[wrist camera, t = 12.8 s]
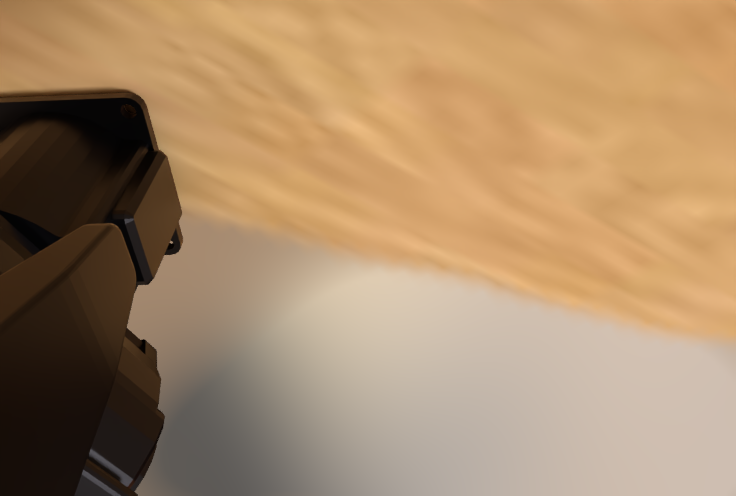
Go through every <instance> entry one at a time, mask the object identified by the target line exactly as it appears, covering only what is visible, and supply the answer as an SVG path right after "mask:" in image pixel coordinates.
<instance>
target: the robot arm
mask: <svg viewBox="0 0 736 496" xmlns="http://www.w3.org/2000/svg"><path fill="white" fill-rule="evenodd" d="M126 104H127V105H131V106H132V107H134V109H135V110H136V113H135V114H133V113H129V112H128V111H127V110H126V109H125V107H124V105H126ZM181 215H182V210H181V206H180V202H179V199H178V195H177V191H176V187H175V184H174V180H173V176H172V173H171V169H170V165H169V161H168V158H167V156H166V155H165V154H164V153H163V152H162V151H161V150H159V149H158V145H157V142H156V138H155V135H154V131H153V127H152V124H151V120H150V116H149V113H148V109H147V106H146V104H145V102H144V100H143V99H142V98H141V97H140V96H138V95H136V94H134V93H104V94H80V95H55V96H31V97H6V98H0V496H138V494H136V493H135V492H134V491H135V490H136V488H137V487H138V485H139V484H140V482H141V481H142V479H143V478H144V476H145V474H146V472H147V470H148V468H149V466H150V464H151V462H152V459H153V456H154V453H155V450H156V446H157V442H158V440H159V437H160V434H161V432H162V430H163V426H164V418H165V416H164V414H163V413H162V412H161V411H160V410H159V409H158V404H159V394H160V384H161V378H160V375H159V372H158V370H157V351H156V349H155V348H154V347H152V346H151V345H150V344H149V343H148V342H147V341H146V340H144V339H143V340H140V339H138V338H137V337H136V336H135V335H134V334H133V333H132V332H131V331H130V330H128V329H127V324H128V319H129V314H130V310H131V306H132V301H133V296H134V293H135V291H136V289H137V286H138V285H148V284H149V283H150V282H151V281H152V280H153V279H154V277H155V275H156V273H157V270H158V268H159V266H160V263H161V261H162V259H163V256H164V255H172V254H176V253H177V252H179V250H180V248H181V245H182V243H183V236H182V233H181V229H180V226H179V219H180V217H181ZM170 240H171V241H173V243H172V244H171V243H169V242H170Z"/></svg>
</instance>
